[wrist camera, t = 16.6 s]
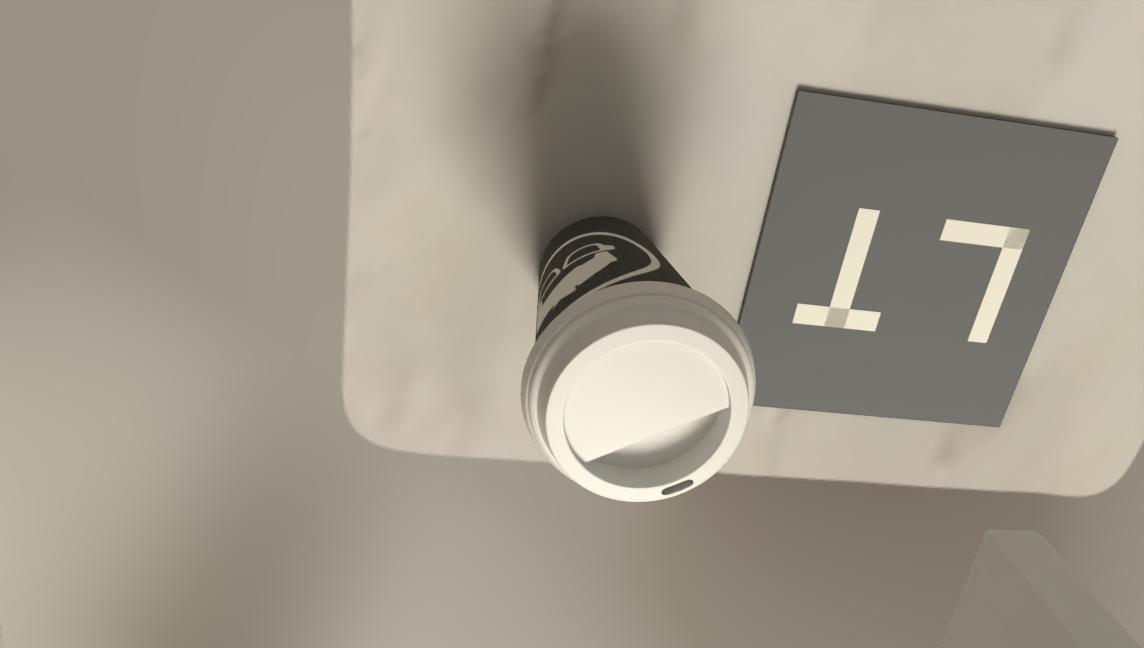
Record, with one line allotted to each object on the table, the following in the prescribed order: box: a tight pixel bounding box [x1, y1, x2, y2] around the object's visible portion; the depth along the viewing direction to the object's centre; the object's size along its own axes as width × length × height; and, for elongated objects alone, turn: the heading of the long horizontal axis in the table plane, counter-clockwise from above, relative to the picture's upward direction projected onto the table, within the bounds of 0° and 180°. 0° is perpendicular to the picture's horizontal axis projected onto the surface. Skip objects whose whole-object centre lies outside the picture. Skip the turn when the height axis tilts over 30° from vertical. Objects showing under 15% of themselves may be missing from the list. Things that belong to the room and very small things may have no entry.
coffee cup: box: [521, 217, 756, 502], centre depth 40 cm, size 10×10×15 cm
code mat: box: [738, 90, 1118, 427], centre depth 48 cm, size 18×18×1 cm
